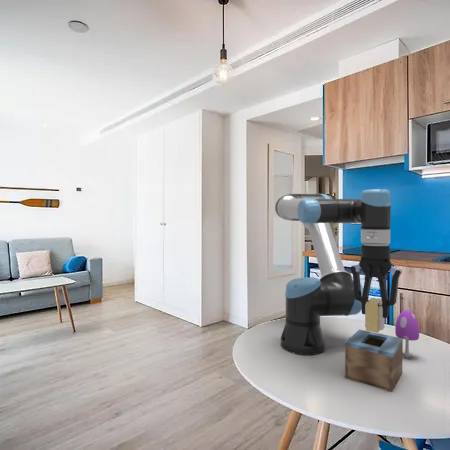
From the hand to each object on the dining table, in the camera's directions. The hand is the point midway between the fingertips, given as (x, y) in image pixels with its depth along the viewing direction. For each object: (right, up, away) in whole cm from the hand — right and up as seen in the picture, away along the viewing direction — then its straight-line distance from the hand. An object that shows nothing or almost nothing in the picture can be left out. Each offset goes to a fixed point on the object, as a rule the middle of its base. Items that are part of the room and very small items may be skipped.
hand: (374, 327), depth 91 cm
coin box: (0, -14, 0) cm, 14 cm away
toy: (+16, -14, +12) cm, 25 cm away
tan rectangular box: (0, 0, 0) cm, 0 cm away
